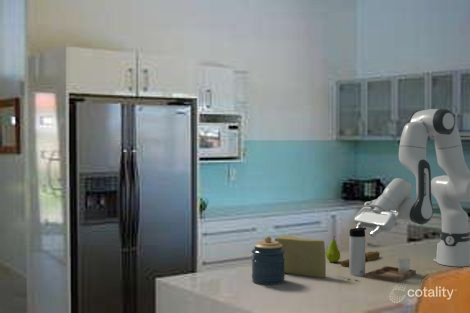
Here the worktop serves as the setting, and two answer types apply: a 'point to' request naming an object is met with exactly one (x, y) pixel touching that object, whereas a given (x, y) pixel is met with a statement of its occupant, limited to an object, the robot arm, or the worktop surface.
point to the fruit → (333, 252)
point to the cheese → (303, 256)
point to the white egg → (403, 266)
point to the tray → (389, 274)
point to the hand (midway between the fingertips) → (364, 234)
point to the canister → (268, 262)
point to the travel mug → (357, 252)
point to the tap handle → (367, 257)
